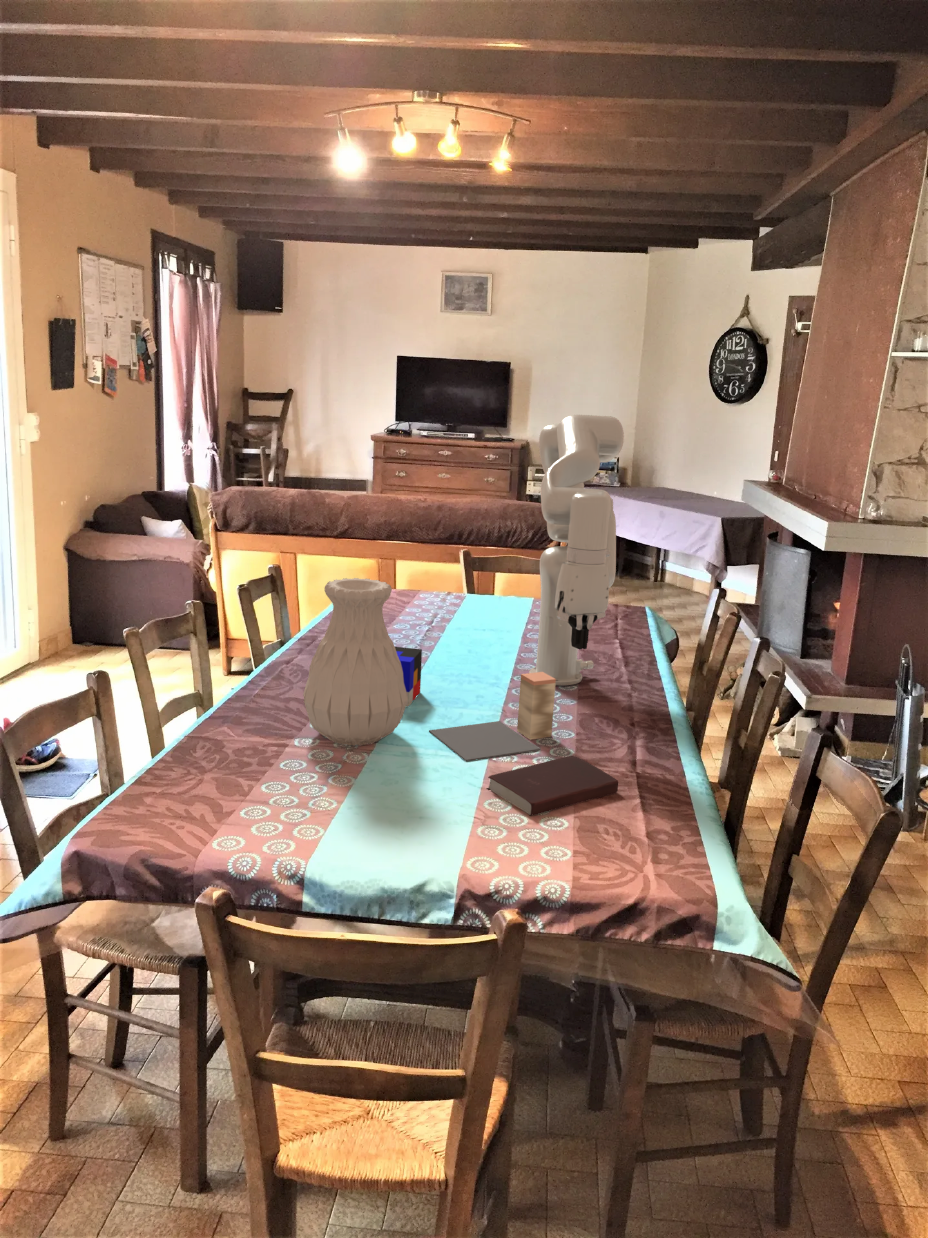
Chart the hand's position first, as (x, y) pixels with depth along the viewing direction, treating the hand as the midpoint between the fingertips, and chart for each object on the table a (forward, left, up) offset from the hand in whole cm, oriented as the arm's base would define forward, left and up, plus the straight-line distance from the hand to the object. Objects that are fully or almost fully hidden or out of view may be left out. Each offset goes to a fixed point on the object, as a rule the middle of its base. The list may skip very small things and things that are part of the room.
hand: (579, 647), depth 193 cm
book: (+20, +24, -18) cm, 36 cm away
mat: (+20, 0, -17) cm, 27 cm away
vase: (+43, -11, -18) cm, 48 cm away
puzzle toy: (+27, -30, -18) cm, 44 cm away
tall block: (+9, 0, -17) cm, 20 cm away
